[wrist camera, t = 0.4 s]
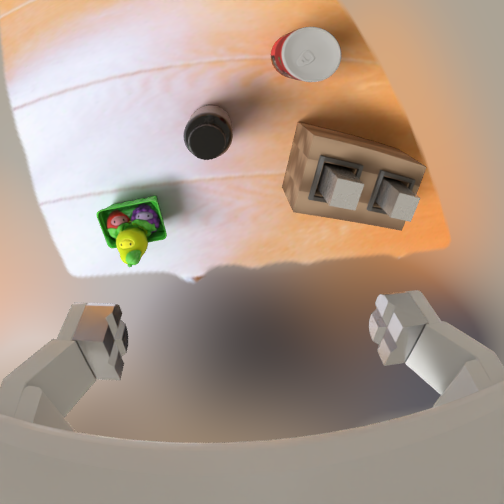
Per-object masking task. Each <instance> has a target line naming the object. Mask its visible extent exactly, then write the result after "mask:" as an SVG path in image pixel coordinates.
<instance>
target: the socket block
mask: <svg viewBox="0 0 504 504" xmlns="http://www.w3.org/2000/svg"><path fill="white" fill-rule="evenodd" d="M324 162H326V163H331V164H335V165H340V166H344V167H347V168H348V169H349V170H350V171H351V172H352V173H353V174H354V175H355V176H356V177H357V178H359V179H360V180H361V181H362V182H363V183H364V187H363V190H362V193H361V196H360V198H359V201H358V204H357V207H356V210H350V209H345V208H339V207H334V206H329V205H328V203H327V202H326V200H325V199H324V197H323V196H322V194H321V193H320V191H319V190H318V189H317V186H318V182H319V179H320V176H321V172H322V168H323V165H324ZM425 170H426V167H425V166H424V165H422V164H421V163H419V162H418V161H416V160H415V159H413V158H412V157H410V156H408V155H407V154H405V153H404V152H402V151H400V150H399V149H396V148H393V147H390V146H387V145H384V144H380V143H377V142H374V141H370V140H367V139H364V138H360V137H356V136H353V135H349V134H345V133H342V132H338V131H334V130H330V129H326V128H322V127H318V126H313V125H309V124H305V123H300V122H298V124H297V128H296V132H295V136H294V141H293V145H292V149H291V153H290V157H289V161H288V165H287V169H286V173H285V177H284V181H283V185H282V188H283V190H284V192H285V195H286V197H287V199H288V201H289V203H290V206H291V208H292V210H293V212H296V213H302V214H309V215H315V216H321V217H327V218H333V219H339V220H345V221H351V222H357V223H363V224H368V225H374V226H380V227H385V228H390V229H396V230H401V231H402V228H403V226H404V224H405V220H400V219H396V218H391V217H389V216H388V214H387V213H386V212H385V211H384V210H383V209H382V208H381V207H380V206H379V205H378V204H377V203H376V202H375V199H376V196H377V193H378V191H379V188H380V185H381V182H382V179H383V176H384V177H388V178H392V179H395V180H399V181H400V182H401V183H403V184H404V185H405V186H406V187H407V188H409V189H410V190H411V191H412V192H413V193H415V194H417V191H418V189H419V186H420V183H421V181H422V178H423V175H424V172H425Z"/></svg>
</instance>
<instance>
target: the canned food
mask: <svg viewBox="0 0 504 504" xmlns="http://www.w3.org/2000/svg"><path fill="white" fill-rule="evenodd" d="M271 60H272V64H273V66H274V68H275V69H276V70H277V71H278V72H279V73H280V74H281V75H283V76H285V77H288V78H292V79H296V80H300V81H306V82H317V81H322V80H324V79H327V78H328V77H330V76H331V75H332V74H333V73H334V72H335V71H336V70H337V68H338V67H339V64H340V61H341V49H340V46H339V44H338V41H337V40H336V39H335V37H334V36H333V35H332V34H330V33H329V32H327V31H326V30H324V29H321V28H317V27H305V28H301V29H298V30H295V31H293V32H291V33H289V34H287V35H285V36H283V37H281V38H280V39H278V40H277V41H276V43H275V44H274V46H273V48H272V51H271Z"/></svg>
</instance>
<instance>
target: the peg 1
mask: <svg viewBox="0 0 504 504" xmlns="http://www.w3.org/2000/svg"><path fill="white" fill-rule="evenodd" d="M363 187H364V183H363V182H362V181H361V180H360V179H359V178H357V177H356V176H355V175H354V174H353V173H352V172H351V171H350V170H349V169H348V168H347V167H344V166H340V165H335V164H331V163H326V162H324V165H323V168H322V172H321V176H320V179H319V182H318V186H317V189H318V190H319V191H320V193H321V194H322V196H323V197H324V199H325V200H326V202H327V203H328V205H329V206H334V207H339V208H345V209H350V210H356V207H357V204H358V201H359V198H360V196H361V193H362V190H363Z"/></svg>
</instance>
